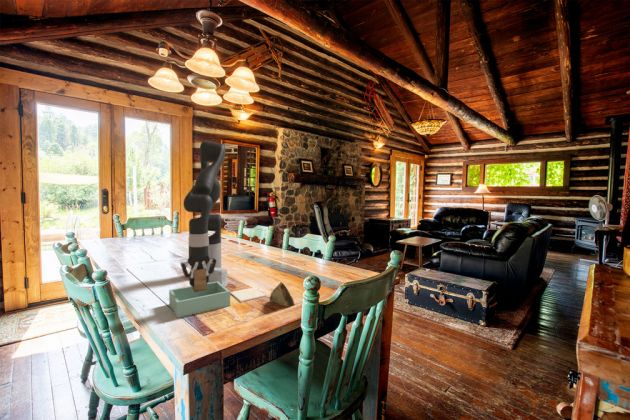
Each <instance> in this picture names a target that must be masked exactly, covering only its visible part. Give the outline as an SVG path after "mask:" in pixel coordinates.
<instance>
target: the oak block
mask: <svg viewBox="0 0 630 420" xmlns="http://www.w3.org/2000/svg"><path fill="white" fill-rule="evenodd" d="M192 269H193V268H192ZM193 278H194V287H192V289H193V291H194V292H199V291H205V290H206V268H205V269H204V268H201V269H196V270H194V277H193Z"/></svg>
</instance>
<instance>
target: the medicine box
mask: <svg viewBox="0 0 630 420" xmlns="http://www.w3.org/2000/svg"><path fill="white" fill-rule="evenodd" d="M217 281H219V282H220V283H221V284H222V285H223V286H224V287H225V288H227V287H228V269H227V268H222V267H221V268H214V271H213V273H212V274H209V282H208V283H211V282H217Z"/></svg>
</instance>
